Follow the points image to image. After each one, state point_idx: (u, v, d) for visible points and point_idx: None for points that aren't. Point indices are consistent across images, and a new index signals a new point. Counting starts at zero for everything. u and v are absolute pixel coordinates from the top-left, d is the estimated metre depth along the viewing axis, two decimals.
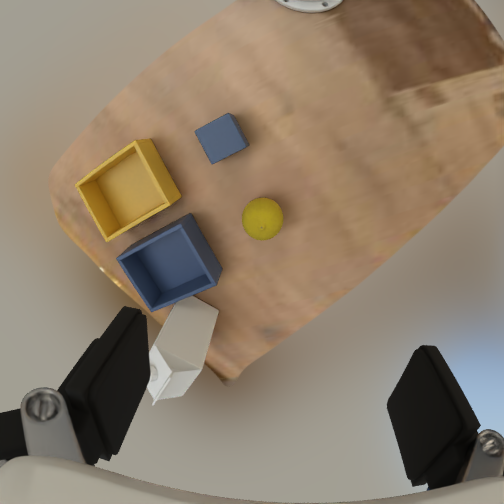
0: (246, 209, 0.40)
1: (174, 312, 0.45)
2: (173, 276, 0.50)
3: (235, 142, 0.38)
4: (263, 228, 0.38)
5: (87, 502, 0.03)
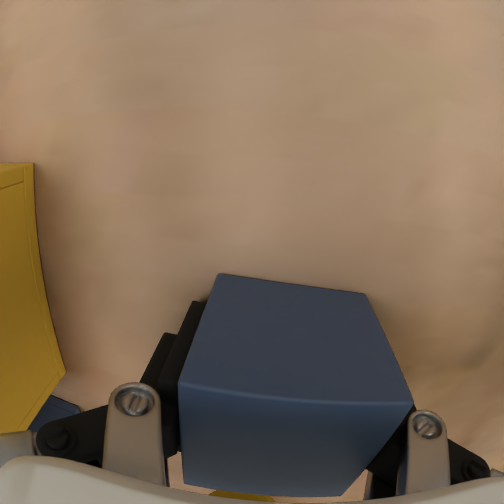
0: None
1: None
2: None
3: (323, 482, 0.07)
4: None
5: (87, 502, 0.03)
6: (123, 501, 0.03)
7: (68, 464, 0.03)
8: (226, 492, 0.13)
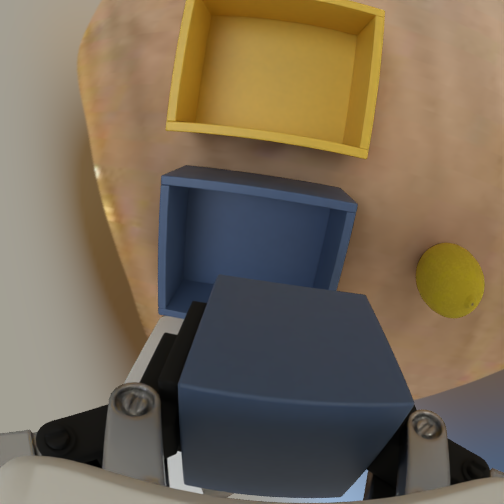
0: (456, 257, 0.19)
1: None
2: (227, 266, 0.26)
3: (323, 483, 0.07)
4: (472, 306, 0.18)
5: (87, 502, 0.03)
6: (123, 501, 0.03)
7: (68, 464, 0.03)
8: None
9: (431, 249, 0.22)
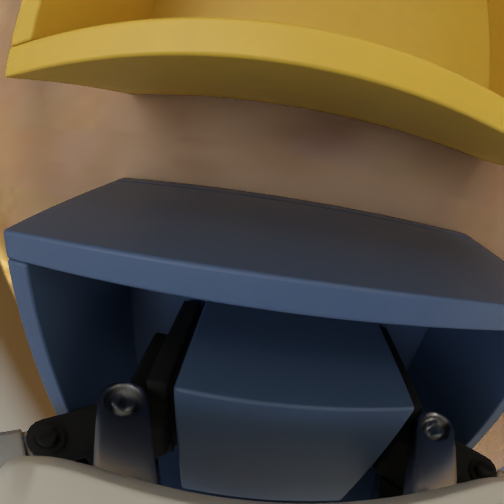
0: None
1: None
2: None
3: (322, 487, 0.07)
4: None
5: (87, 502, 0.03)
6: (123, 501, 0.03)
7: (68, 464, 0.03)
8: None
9: None
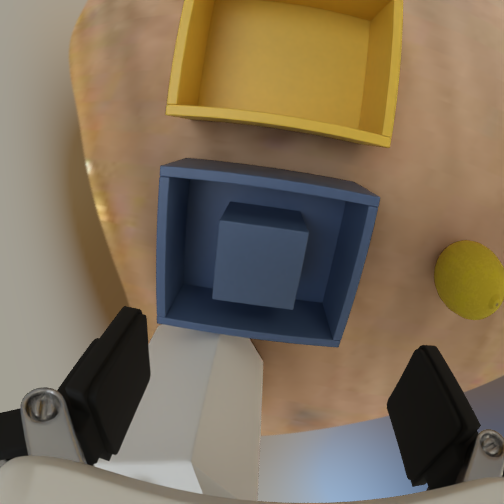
0: (478, 255, 0.17)
1: (219, 356, 0.19)
2: None
3: (280, 290, 0.18)
4: (496, 307, 0.16)
5: (87, 502, 0.03)
6: (123, 501, 0.03)
7: (68, 464, 0.03)
8: None
9: (451, 247, 0.20)
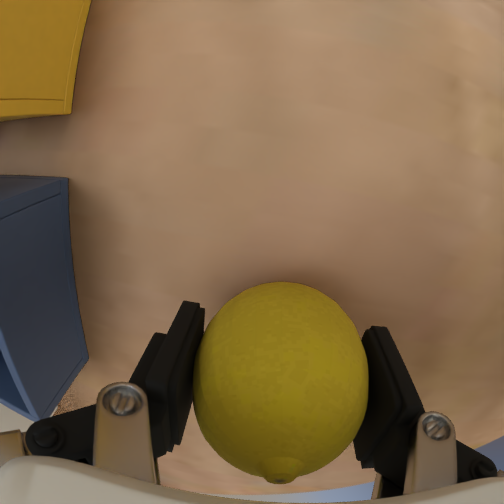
0: (252, 338, 0.07)
1: None
2: None
3: None
4: (283, 483, 0.06)
5: (87, 502, 0.03)
6: (123, 501, 0.03)
7: (68, 464, 0.03)
8: None
9: (232, 299, 0.10)
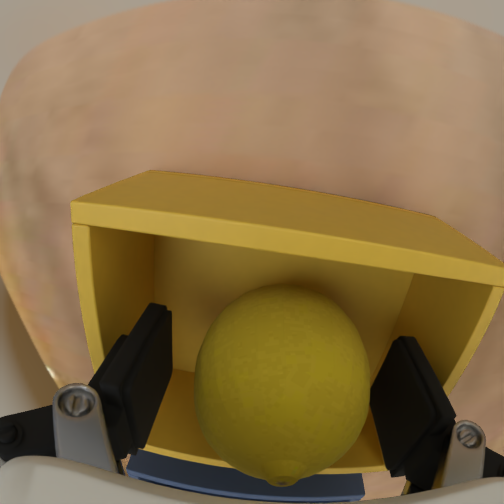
0: (255, 341, 0.07)
1: None
2: None
3: None
4: (285, 486, 0.06)
5: (87, 502, 0.03)
6: (123, 501, 0.03)
7: (68, 464, 0.03)
8: None
9: (233, 301, 0.10)
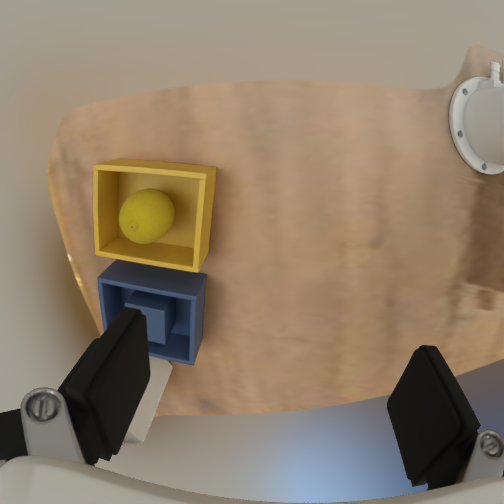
0: (133, 195, 0.29)
1: None
2: None
3: (157, 335, 0.35)
4: (133, 229, 0.27)
5: (87, 502, 0.03)
6: (123, 501, 0.03)
7: (68, 464, 0.03)
8: None
9: None
